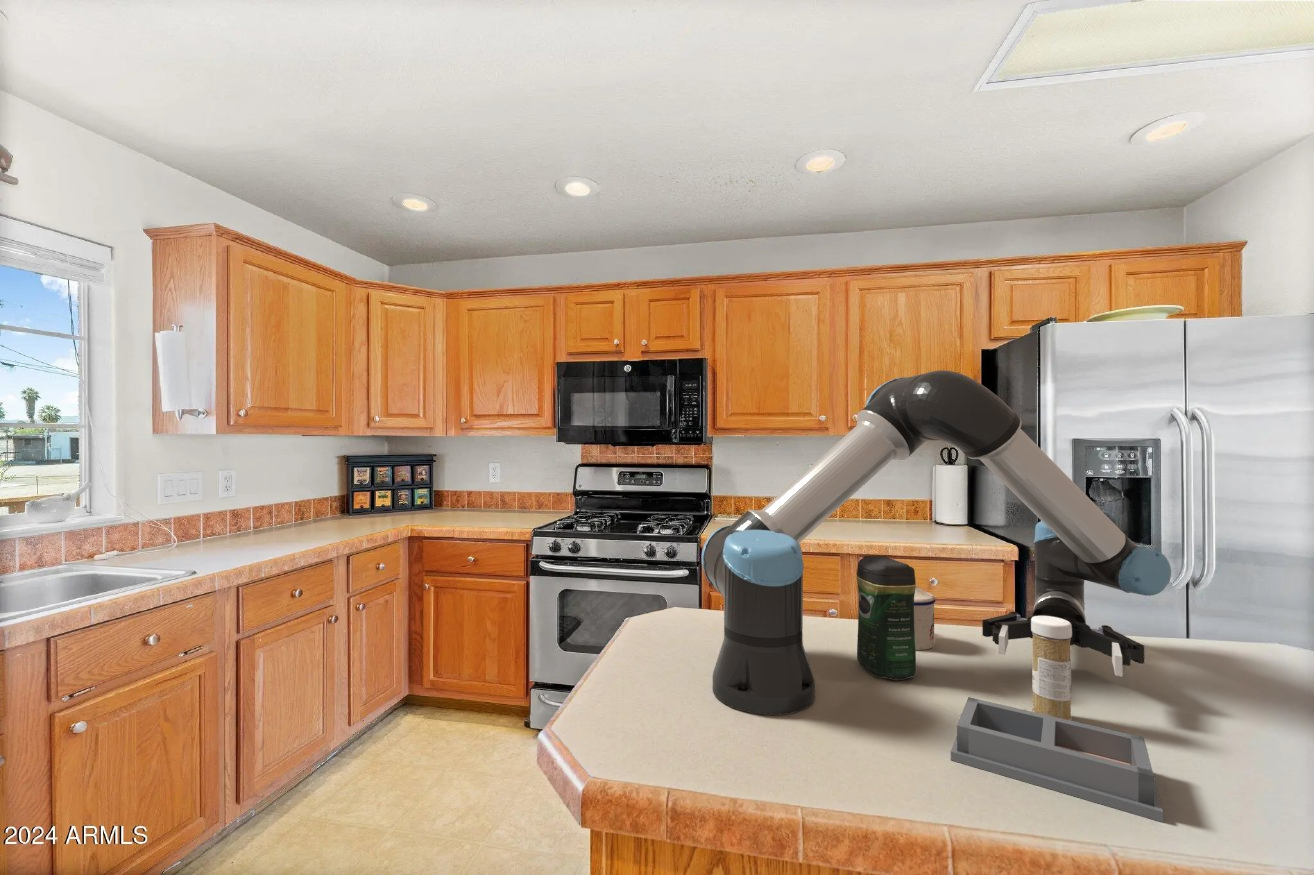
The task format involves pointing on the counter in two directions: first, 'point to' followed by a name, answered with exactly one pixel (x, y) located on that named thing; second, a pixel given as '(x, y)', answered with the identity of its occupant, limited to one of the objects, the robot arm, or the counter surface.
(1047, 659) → the sprinkles bottle
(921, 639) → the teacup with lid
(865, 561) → the coffee jar
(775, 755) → the counter surface
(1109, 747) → the bottle caddy
